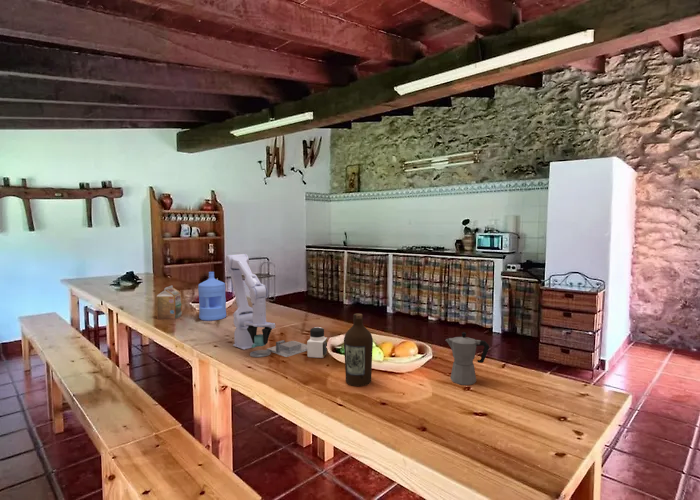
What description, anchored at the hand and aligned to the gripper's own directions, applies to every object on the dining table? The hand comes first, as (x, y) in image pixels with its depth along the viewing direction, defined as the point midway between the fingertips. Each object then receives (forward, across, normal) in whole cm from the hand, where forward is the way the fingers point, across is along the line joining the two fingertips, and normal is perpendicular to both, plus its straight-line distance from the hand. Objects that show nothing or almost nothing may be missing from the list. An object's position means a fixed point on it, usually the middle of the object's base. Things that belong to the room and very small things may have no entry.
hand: (260, 343), depth 183 cm
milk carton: (+5, -88, +45) cm, 99 cm away
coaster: (+5, 0, 0) cm, 5 cm away
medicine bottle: (+5, +25, +6) cm, 26 cm away
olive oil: (+5, +50, -17) cm, 54 cm away
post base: (+5, +10, +10) cm, 15 cm away
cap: (+1, 0, -1) cm, 2 cm away
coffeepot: (+5, +88, -5) cm, 88 cm away
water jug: (+5, -62, +51) cm, 81 cm away
